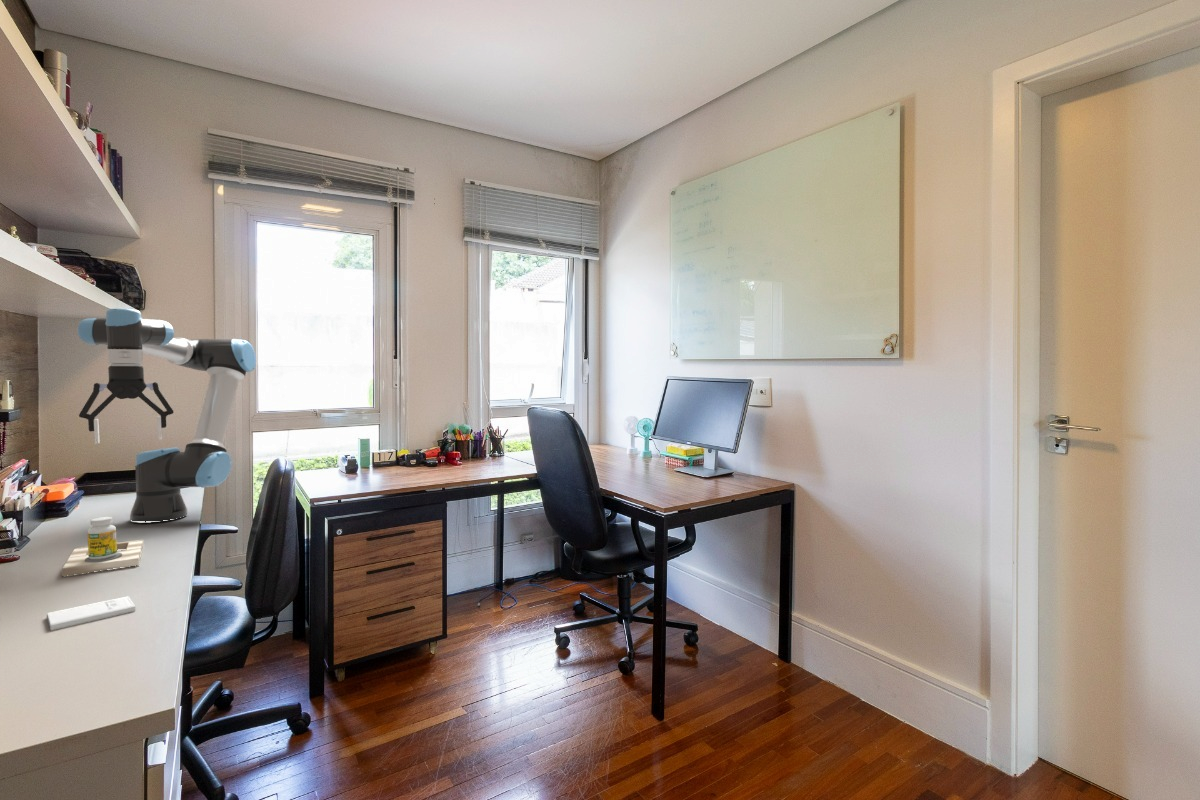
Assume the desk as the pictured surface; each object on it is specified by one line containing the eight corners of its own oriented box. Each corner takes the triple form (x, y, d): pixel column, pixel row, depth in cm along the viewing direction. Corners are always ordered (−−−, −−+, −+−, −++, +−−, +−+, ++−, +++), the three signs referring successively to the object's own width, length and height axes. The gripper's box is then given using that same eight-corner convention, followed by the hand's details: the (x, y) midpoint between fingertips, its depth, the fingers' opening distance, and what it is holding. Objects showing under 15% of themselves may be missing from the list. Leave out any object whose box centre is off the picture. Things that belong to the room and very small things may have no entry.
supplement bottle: (119, 552, 146) (118, 515, 146) (113, 558, 141) (112, 519, 141) (92, 555, 144) (91, 517, 143) (84, 561, 139) (83, 522, 139)
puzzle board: (75, 555, 151) (75, 546, 151) (143, 546, 159) (143, 538, 159) (62, 577, 135) (62, 567, 134) (138, 566, 143) (138, 556, 143)
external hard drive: (46, 620, 112) (128, 602, 121) (50, 633, 106) (135, 613, 116) (46, 612, 112) (128, 594, 121) (50, 624, 106) (135, 605, 116)
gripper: (62, 365, 148) (67, 446, 149) (181, 365, 163) (184, 439, 164) (66, 364, 154) (70, 443, 155) (181, 365, 169) (184, 436, 170)
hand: (129, 441), depth 160 cm, fingers open, 13 cm apart
